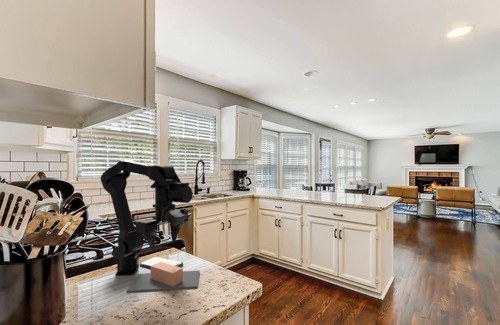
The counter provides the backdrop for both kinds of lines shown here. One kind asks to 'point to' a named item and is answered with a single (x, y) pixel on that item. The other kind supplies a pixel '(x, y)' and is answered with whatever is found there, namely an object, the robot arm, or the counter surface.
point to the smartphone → (156, 260)
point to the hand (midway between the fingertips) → (163, 245)
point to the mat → (148, 284)
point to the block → (167, 273)
